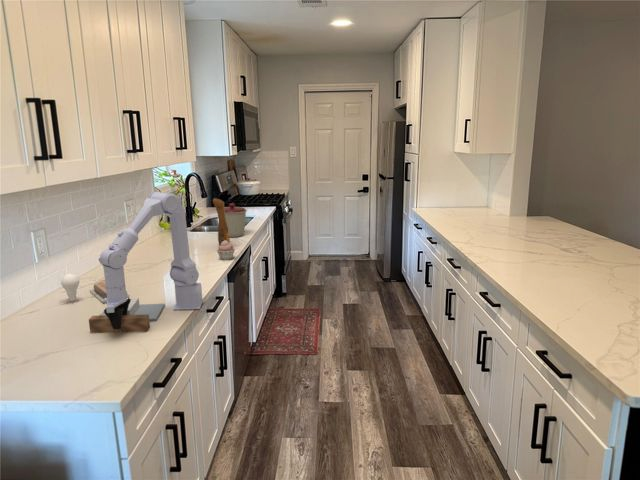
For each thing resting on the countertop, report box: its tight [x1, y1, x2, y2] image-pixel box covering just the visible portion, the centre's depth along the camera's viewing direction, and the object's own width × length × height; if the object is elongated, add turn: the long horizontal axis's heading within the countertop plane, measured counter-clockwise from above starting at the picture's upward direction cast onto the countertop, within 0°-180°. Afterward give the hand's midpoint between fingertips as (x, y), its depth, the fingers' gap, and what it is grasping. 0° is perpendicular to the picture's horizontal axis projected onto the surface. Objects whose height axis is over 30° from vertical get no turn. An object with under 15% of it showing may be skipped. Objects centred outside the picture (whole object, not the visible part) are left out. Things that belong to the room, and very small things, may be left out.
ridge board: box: [100, 297, 166, 323], centre depth 155 cm, size 20×14×4 cm
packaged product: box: [89, 279, 130, 305], centre depth 175 cm, size 18×5×10 cm
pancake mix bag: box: [212, 197, 231, 247], centre depth 247 cm, size 7×19×28 cm, turn 22°
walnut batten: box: [88, 314, 151, 334], centre depth 143 cm, size 18×3×5 cm, turn 93°
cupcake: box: [216, 240, 236, 261], centre depth 226 cm, size 9×9×10 cm
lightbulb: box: [60, 273, 80, 302], centre depth 167 cm, size 6×6×11 cm
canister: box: [224, 202, 248, 238], centre depth 276 cm, size 18×18×21 cm
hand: (119, 324), depth 143 cm, fingers open, 5 cm apart
